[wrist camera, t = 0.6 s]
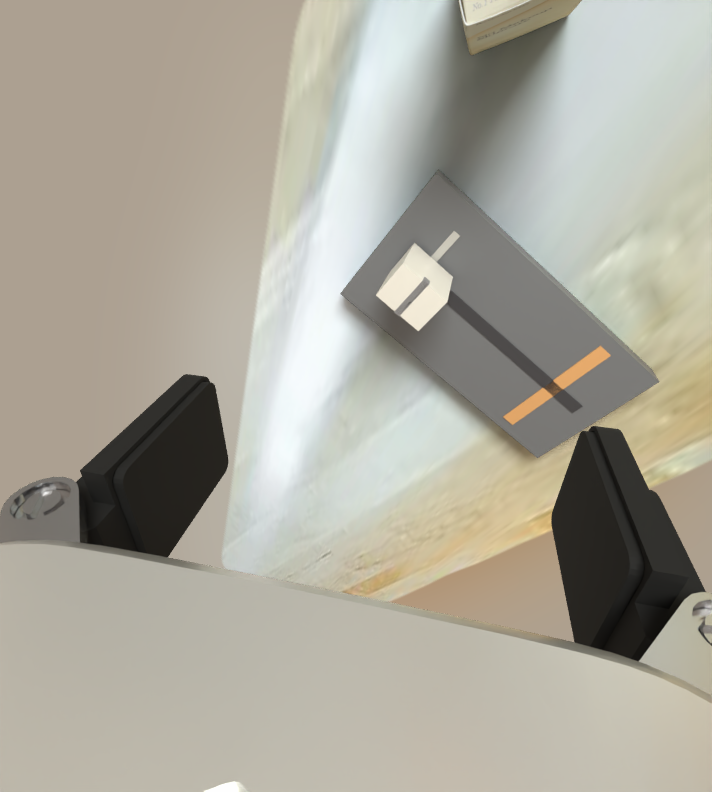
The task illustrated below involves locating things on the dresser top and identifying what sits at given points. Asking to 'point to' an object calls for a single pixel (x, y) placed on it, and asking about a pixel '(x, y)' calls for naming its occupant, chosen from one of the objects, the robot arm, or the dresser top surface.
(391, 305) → the fader tab
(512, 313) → the fader board
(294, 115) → the dresser top surface
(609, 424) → the dresser top surface
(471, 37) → the skincare box
